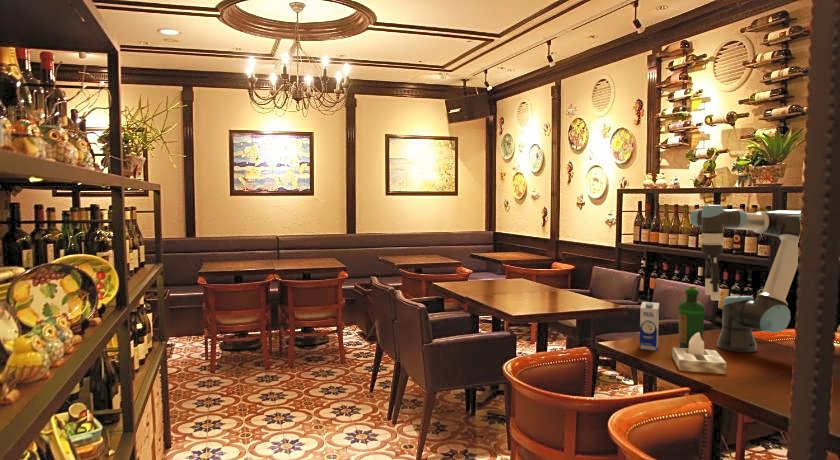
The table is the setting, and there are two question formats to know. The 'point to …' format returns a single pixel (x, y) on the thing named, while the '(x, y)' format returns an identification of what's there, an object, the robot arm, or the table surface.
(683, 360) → the socket board
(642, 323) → the milk carton
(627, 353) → the table surface
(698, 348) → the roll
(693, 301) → the bottle
